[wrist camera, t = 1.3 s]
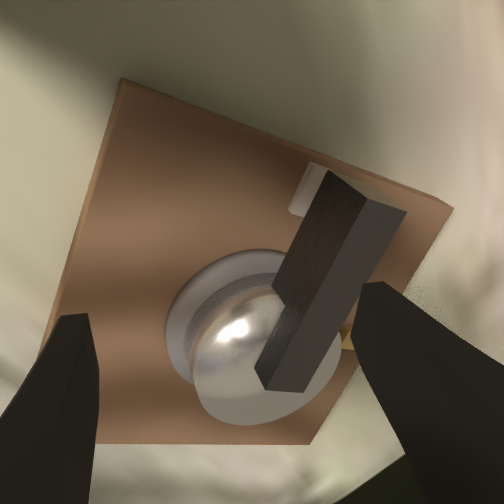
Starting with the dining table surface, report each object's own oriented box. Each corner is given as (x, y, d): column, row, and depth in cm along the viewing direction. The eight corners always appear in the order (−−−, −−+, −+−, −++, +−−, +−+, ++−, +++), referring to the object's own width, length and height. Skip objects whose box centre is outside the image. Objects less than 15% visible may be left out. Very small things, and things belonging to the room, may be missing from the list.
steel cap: (282, 390, 26) (313, 449, 23) (163, 382, 23) (180, 449, 20) (393, 189, 22) (451, 227, 19) (266, 142, 19) (310, 178, 15)
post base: (300, 427, 33) (314, 454, 31) (18, 419, 24) (15, 456, 22) (436, 197, 27) (464, 214, 25) (121, 77, 18) (129, 90, 16)
